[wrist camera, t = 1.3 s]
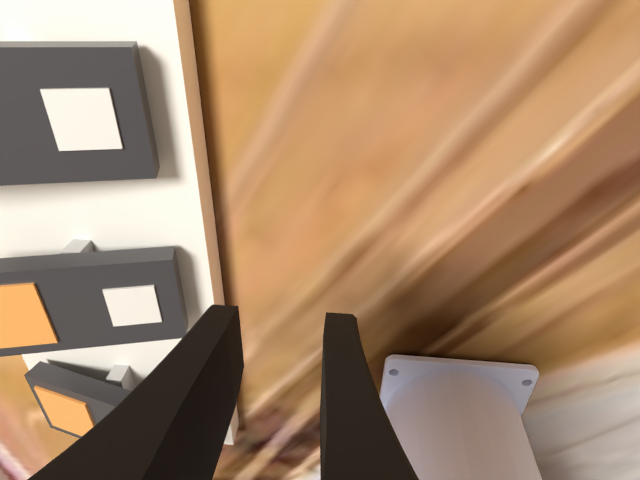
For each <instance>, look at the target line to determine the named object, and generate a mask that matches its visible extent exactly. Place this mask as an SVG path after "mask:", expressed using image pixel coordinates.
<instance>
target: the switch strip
mask: <svg viewBox="0 0 640 480" xmlns="http://www.w3.org/2000/svg"><path fill="white" fill-rule="evenodd" d="M0 41H137V44H138V49H139V55H140V60H141V66H142V71H143V76H144V82H145V87H146V93H147V98H148V104H149V109H150V115H151V120H152V126H153V131H154V137H155V142H156V147H157V153H158V158H159V164H160V169H159V172H158V175H157V178H156V179H134V180H113V181H91V182H70V183H48V184H27V185H5V186H0V258H10V257H24V256H39V255H53V254H67V253H82V252H96V251H110V250H125V249H139V248H153V247H168V246H175V251H176V257H177V262H178V268H179V273H180V279H181V284H182V290H183V295H184V300H185V306H186V311H187V317H188V322H189V323H188V331H189V330H190V329H191V328H192V327H193V325H194V324H195V323H196V322H197V321H198V320H199V318H200V317H201V316H202V315H203V314H204V312H205V311H206V310H207V309H208V308H209V307H210V306H211V305H213V304H214V305H225V301H224V293H223V284H222V276H221V267H220V259H219V251H218V242H217V234H216V225H215V217H214V208H213V200H212V192H211V183H210V175H209V166H208V158H207V149H206V141H205V133H204V124H203V116H202V107H201V99H200V90H199V82H198V74H197V65H196V57H195V48H194V40H193V31H192V23H191V15H190V6H189V0H0ZM181 339H182V338H180V339H170V340H160V341H150V342H140V343H131V344H121V345H111V346H101V347H91V348H81V349H71V350H61V351H52V352H42V353H32V354H22V357H23V359H24V361H25V363H26V365H27V367H28V369H29V371H30V370H31V369H32V368H33V367H34V366H35V365H36V364H37V363H38V362H40V361H42V362H45V363H48V364H51V365H54V366H57V367H60V368H63V369H66V370H69V371H72V372H75V373H78V374H81V375H84V376H88V377H91V378H94V379H97V380H100V381H103V382H106V383H109V384H112V385H115V386H118V387H121V388H124V389H127V390H130V391H132V390H133V389H134V388H136V387H137V386H138V385H139V384H140V383H141V382H142V381H143V380H144V379H145V378H146V377H147V376H148V375H149V374H150V373H151V372H152V371H153V369H154V368H155V367H156V366H157V365H158V364H159V363H160V362H161V361H162V360H163V359H164V358H165V357H166V356H167V355H168V353H169V352H170V351H171V350H172V349H173V348H174V347H175V346H176V345H177V344H178V343H179V341H180V340H181ZM238 425H239V419H238V411H237V402H236V407H235V410H234V413H233V416H232V420H231V423H230V426H229V429H228V432H227V435H226V438H225V441H224V444H230V445H233V444H234V440H235V436H236V432H237V429H238Z"/></svg>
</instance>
